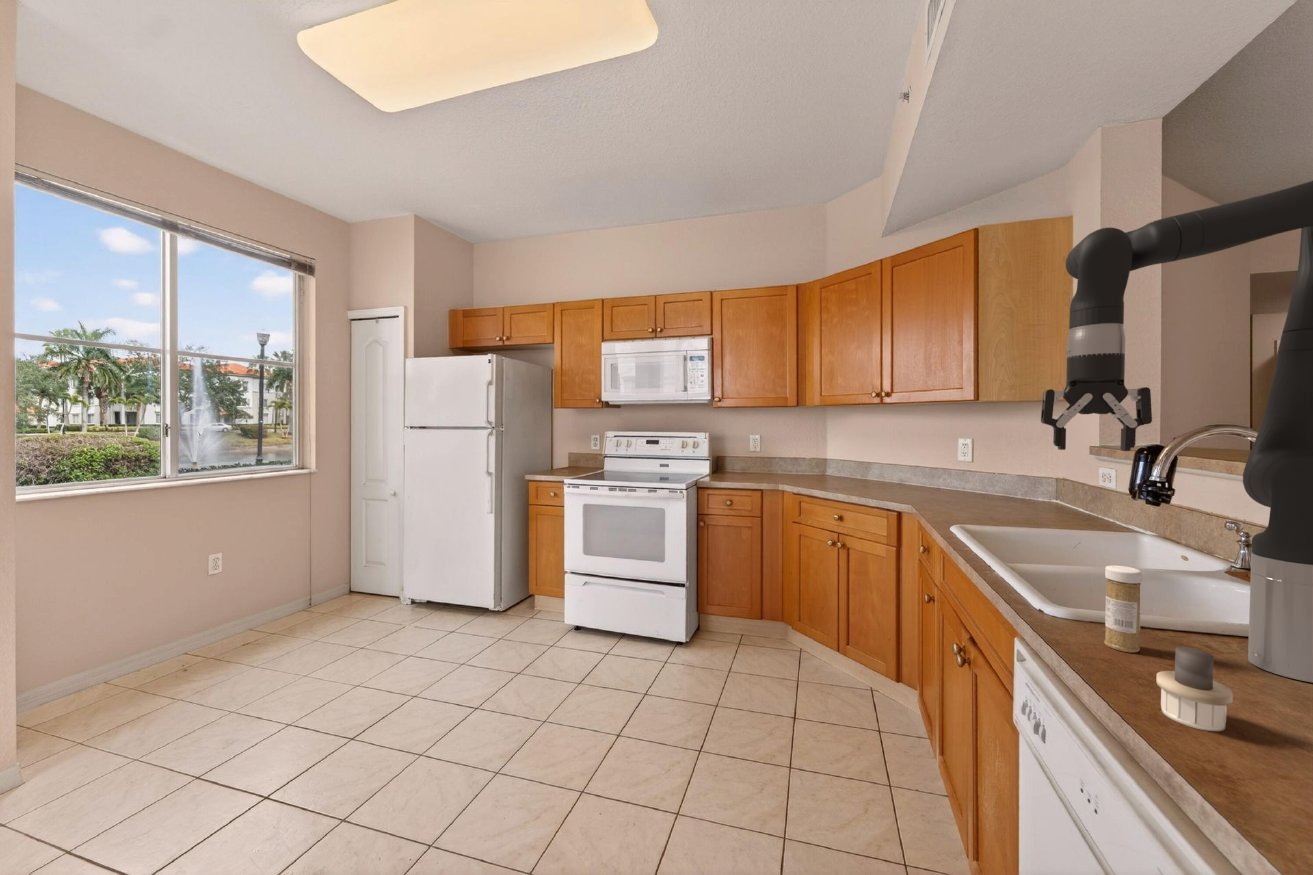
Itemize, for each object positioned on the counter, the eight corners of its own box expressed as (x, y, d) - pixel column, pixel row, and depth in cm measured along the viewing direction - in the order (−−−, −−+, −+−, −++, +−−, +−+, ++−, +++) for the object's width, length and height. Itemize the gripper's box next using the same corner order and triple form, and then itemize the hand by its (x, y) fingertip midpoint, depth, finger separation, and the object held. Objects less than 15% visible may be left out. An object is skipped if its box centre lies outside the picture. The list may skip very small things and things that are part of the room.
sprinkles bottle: (1143, 649, 87) (1145, 569, 87) (1134, 656, 85) (1136, 573, 84) (1108, 639, 91) (1110, 563, 91) (1099, 646, 89) (1101, 567, 88)
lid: (1187, 677, 71) (1188, 640, 70) (1249, 704, 64) (1250, 663, 64) (1141, 679, 70) (1142, 642, 70) (1199, 707, 63) (1200, 666, 63)
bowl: (1187, 705, 70) (1188, 679, 70) (1239, 730, 64) (1239, 702, 64) (1149, 707, 70) (1149, 681, 69) (1197, 732, 64) (1198, 704, 64)
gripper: (1048, 354, 88) (1046, 450, 88) (1160, 348, 82) (1157, 452, 82) (1038, 358, 95) (1037, 448, 95) (1142, 354, 88) (1139, 450, 89)
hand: (1093, 450), depth 89 cm, fingers open, 8 cm apart
